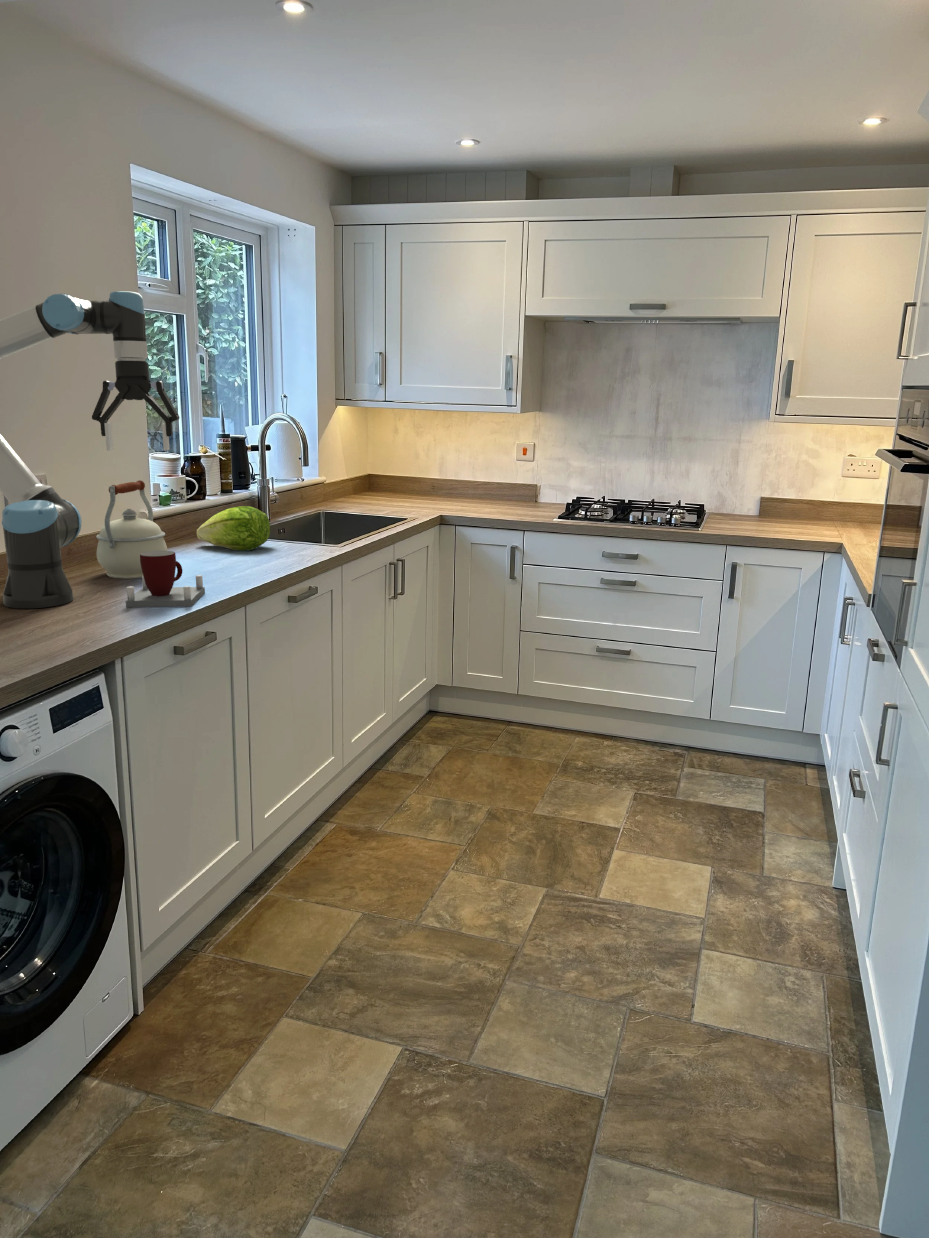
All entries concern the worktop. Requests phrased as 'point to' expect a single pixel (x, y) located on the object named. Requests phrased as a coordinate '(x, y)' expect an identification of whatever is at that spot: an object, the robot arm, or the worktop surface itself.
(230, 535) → the lettuce
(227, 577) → the worktop surface
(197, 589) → the post board
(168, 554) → the mug
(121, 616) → the worktop surface
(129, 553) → the kettle
